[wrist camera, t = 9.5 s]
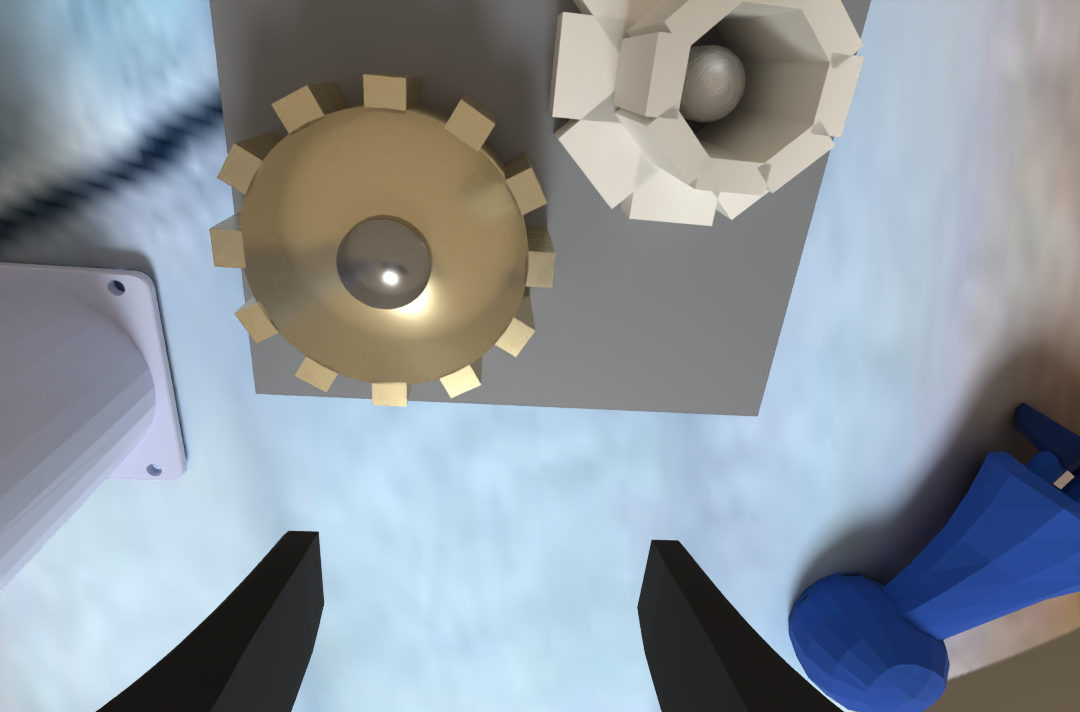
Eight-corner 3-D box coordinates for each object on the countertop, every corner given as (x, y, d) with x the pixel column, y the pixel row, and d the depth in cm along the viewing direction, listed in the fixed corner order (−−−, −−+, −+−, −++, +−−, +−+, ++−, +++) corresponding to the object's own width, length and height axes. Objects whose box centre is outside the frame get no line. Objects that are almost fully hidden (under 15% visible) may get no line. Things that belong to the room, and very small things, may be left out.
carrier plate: (263, 382, 22) (256, 393, 21) (159, -556, 13) (139, -593, 12) (749, 405, 24) (757, 416, 23) (964, -408, 15) (988, -432, 14)
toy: (987, 379, 25) (748, 625, 29) (1137, 463, 19) (812, 754, 24) (1085, 452, 27) (847, 673, 31) (1248, 549, 21) (930, 803, 26)
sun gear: (266, 355, 21) (224, 409, 18) (235, 58, 17) (173, 56, 14) (533, 368, 22) (540, 422, 18) (560, 89, 18) (574, 94, 15)
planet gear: (539, 200, 19) (554, 248, 14) (569, -96, 16) (602, -168, 11) (773, 221, 20) (865, 273, 15) (846, -57, 17) (993, -108, 12)
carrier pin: (646, 112, 18) (676, 122, 15) (656, 44, 18) (690, 40, 14) (705, 118, 18) (747, 128, 15) (717, 50, 18) (764, 48, 15)
